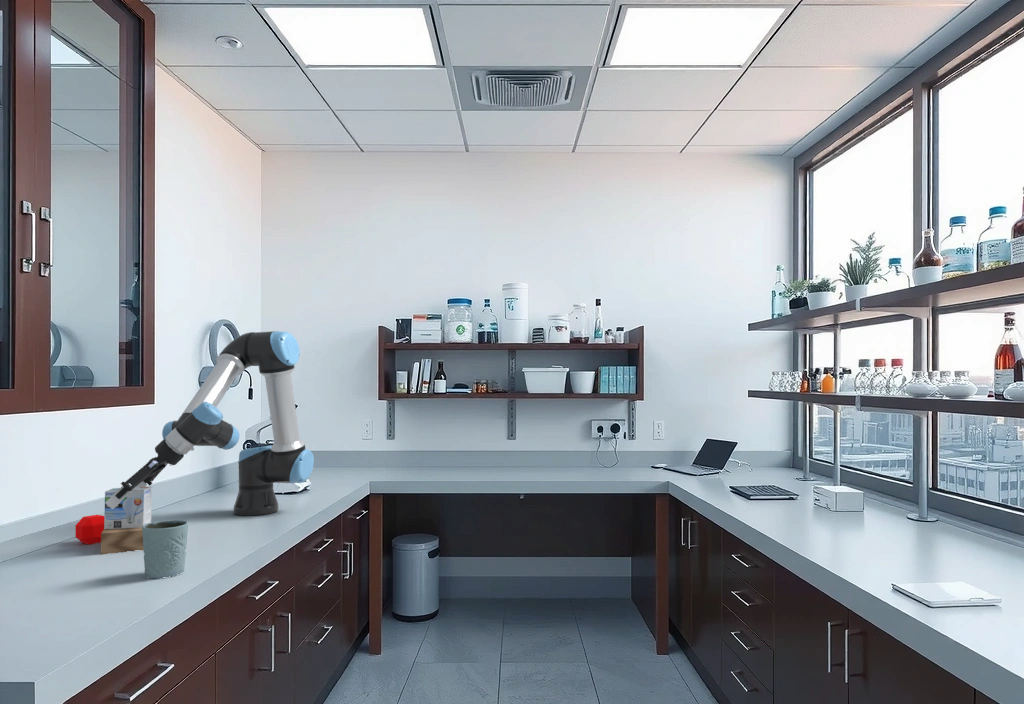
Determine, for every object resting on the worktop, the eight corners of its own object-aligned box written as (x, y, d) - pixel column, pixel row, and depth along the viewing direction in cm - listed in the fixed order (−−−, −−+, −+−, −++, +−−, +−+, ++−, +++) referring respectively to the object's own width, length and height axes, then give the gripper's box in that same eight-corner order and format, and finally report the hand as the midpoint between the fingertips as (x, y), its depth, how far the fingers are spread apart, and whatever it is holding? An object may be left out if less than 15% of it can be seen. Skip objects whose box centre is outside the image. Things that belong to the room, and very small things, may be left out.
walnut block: (101, 555, 194) (101, 533, 194) (107, 545, 207) (107, 524, 207) (146, 551, 199) (146, 529, 199) (149, 541, 211) (149, 521, 212)
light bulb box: (103, 530, 200) (103, 491, 200) (112, 525, 206) (112, 487, 207) (144, 527, 202) (144, 489, 202) (152, 523, 208) (152, 486, 209)
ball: (114, 541, 211) (114, 515, 211) (85, 546, 204) (85, 519, 204) (100, 538, 215) (100, 512, 215) (71, 543, 209) (72, 517, 209)
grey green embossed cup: (166, 567, 179) (166, 518, 179) (197, 570, 175) (197, 521, 175) (131, 577, 169) (132, 526, 170) (164, 581, 166) (164, 529, 166)
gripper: (172, 460, 194) (111, 518, 191) (195, 452, 219) (142, 503, 216) (151, 441, 194) (90, 499, 190) (177, 435, 218) (123, 486, 215)
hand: (117, 502), depth 203 cm, fingers open, 13 cm apart
